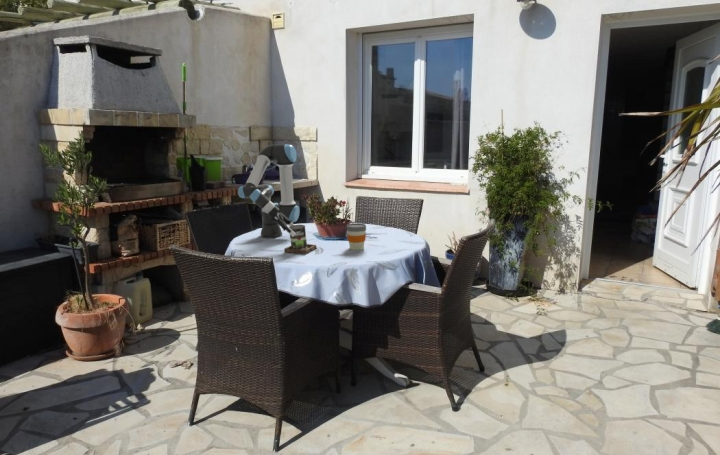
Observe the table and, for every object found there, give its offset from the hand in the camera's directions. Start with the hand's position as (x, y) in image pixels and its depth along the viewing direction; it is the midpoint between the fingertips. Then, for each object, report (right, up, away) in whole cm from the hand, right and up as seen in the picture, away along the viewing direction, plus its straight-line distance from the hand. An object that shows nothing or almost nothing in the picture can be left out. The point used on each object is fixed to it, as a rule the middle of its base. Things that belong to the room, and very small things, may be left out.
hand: (296, 233), depth 331 cm
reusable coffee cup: (+38, -10, +6) cm, 40 cm away
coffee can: (+2, -10, +4) cm, 11 cm away
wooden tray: (+3, -11, +3) cm, 12 cm away
